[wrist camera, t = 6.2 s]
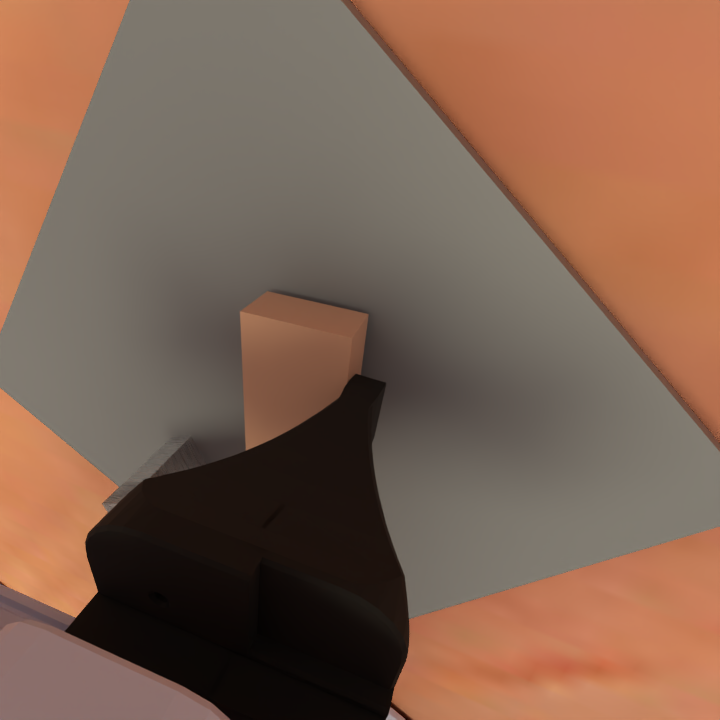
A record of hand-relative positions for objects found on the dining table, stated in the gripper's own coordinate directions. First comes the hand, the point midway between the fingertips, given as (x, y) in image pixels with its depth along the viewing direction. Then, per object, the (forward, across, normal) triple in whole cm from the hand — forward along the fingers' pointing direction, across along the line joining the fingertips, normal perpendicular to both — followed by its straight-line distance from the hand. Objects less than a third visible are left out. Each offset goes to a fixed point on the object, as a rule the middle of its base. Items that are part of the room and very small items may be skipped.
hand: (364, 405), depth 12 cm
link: (+1, +2, +5) cm, 6 cm away
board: (+2, +3, +3) cm, 5 cm away
